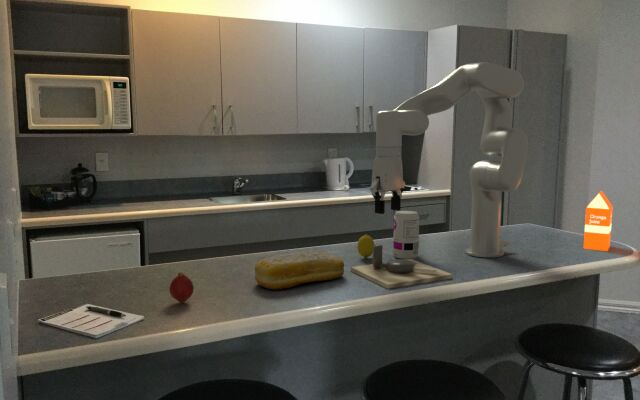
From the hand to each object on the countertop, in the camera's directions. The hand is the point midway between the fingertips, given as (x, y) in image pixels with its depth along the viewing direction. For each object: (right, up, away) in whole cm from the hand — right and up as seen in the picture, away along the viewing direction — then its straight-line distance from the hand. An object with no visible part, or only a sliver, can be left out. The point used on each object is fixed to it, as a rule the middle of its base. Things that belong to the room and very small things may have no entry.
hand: (387, 211), depth 167 cm
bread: (-26, -20, -10) cm, 34 cm away
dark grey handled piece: (+4, -17, -4) cm, 18 cm away
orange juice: (+78, -14, +30) cm, 85 cm away
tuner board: (+3, -19, -4) cm, 19 cm away
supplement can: (+8, -16, +18) cm, 25 cm away
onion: (-55, -22, -28) cm, 66 cm away
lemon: (-5, -16, +15) cm, 23 cm away
